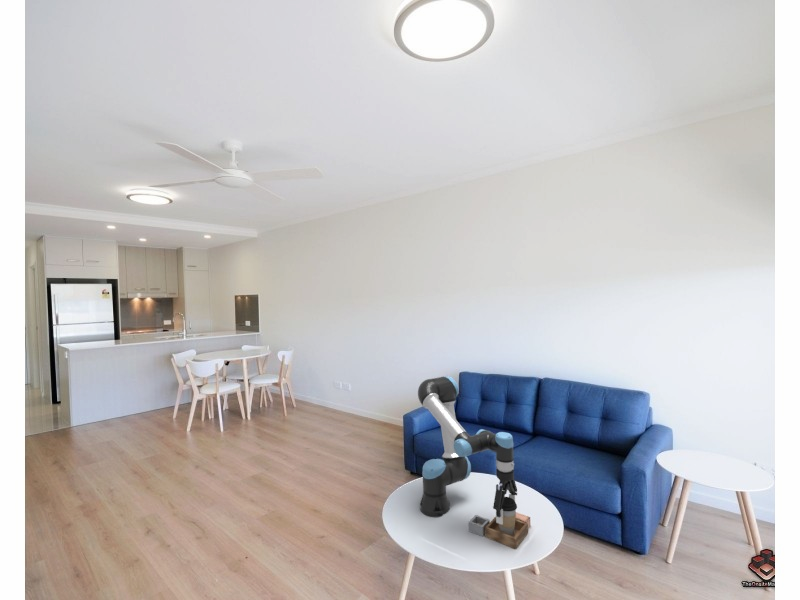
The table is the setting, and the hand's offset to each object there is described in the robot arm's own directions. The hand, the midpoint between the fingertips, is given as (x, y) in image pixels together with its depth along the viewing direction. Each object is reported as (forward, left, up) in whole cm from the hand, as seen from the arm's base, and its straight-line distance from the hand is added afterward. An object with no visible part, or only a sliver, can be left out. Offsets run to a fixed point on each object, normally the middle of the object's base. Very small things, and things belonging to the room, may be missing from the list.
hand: (506, 516), depth 172 cm
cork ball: (-11, -4, -8) cm, 15 cm away
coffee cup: (0, 0, -8) cm, 8 cm away
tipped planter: (+3, +10, -9) cm, 14 cm away
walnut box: (0, 0, -9) cm, 9 cm away
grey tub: (-11, -4, -9) cm, 15 cm away
